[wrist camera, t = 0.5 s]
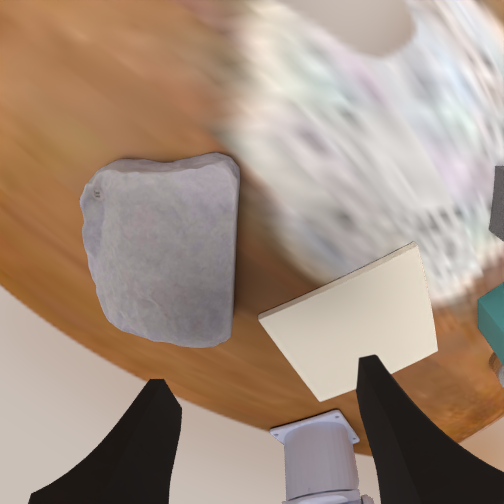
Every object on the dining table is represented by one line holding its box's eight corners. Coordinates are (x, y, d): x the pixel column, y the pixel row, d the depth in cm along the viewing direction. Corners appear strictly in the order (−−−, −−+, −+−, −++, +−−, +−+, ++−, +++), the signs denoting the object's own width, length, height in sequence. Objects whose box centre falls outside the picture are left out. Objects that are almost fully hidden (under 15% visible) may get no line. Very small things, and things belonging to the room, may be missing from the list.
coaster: (435, 346, 23) (437, 350, 23) (319, 397, 26) (319, 401, 26) (413, 241, 18) (417, 245, 18) (258, 314, 21) (258, 320, 21)
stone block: (128, 296, 24) (245, 322, 22) (95, 330, 19) (226, 368, 17) (111, 149, 18) (254, 151, 17) (62, 162, 14) (229, 164, 12)
